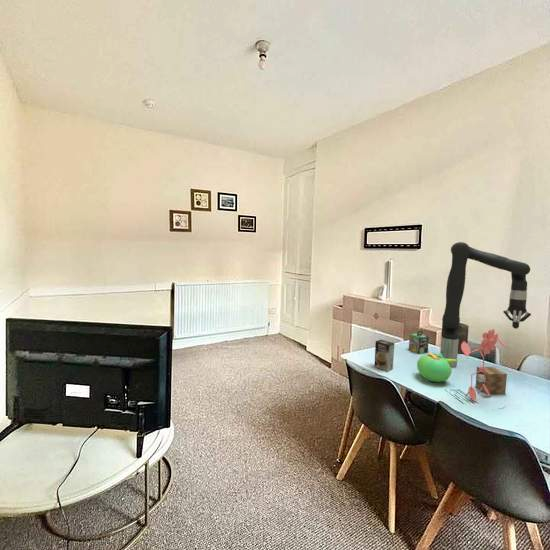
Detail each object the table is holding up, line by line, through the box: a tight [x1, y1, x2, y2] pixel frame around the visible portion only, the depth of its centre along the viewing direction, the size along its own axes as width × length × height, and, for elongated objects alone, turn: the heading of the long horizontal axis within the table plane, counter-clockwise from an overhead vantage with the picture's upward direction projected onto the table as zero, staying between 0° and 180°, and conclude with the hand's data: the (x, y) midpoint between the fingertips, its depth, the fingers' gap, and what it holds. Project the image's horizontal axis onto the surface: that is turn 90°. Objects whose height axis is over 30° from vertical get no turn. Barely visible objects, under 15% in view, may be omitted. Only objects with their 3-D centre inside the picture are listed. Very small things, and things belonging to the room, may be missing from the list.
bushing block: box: [474, 366, 508, 396], centre depth 160 cm, size 9×9×11 cm
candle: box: [457, 322, 469, 354], centre depth 216 cm, size 8×7×20 cm
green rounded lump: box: [416, 352, 459, 383], centre depth 172 cm, size 18×17×15 cm
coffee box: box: [374, 339, 395, 373], centre depth 188 cm, size 9×6×16 cm
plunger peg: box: [477, 374, 486, 382], centre depth 160 cm, size 12×6×6 cm, turn 92°
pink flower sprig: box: [456, 328, 508, 409], centre depth 147 cm, size 15×26×35 cm, turn 113°
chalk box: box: [408, 330, 430, 355], centre depth 218 cm, size 9×9×15 cm
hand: (515, 328), depth 178 cm, fingers closed
